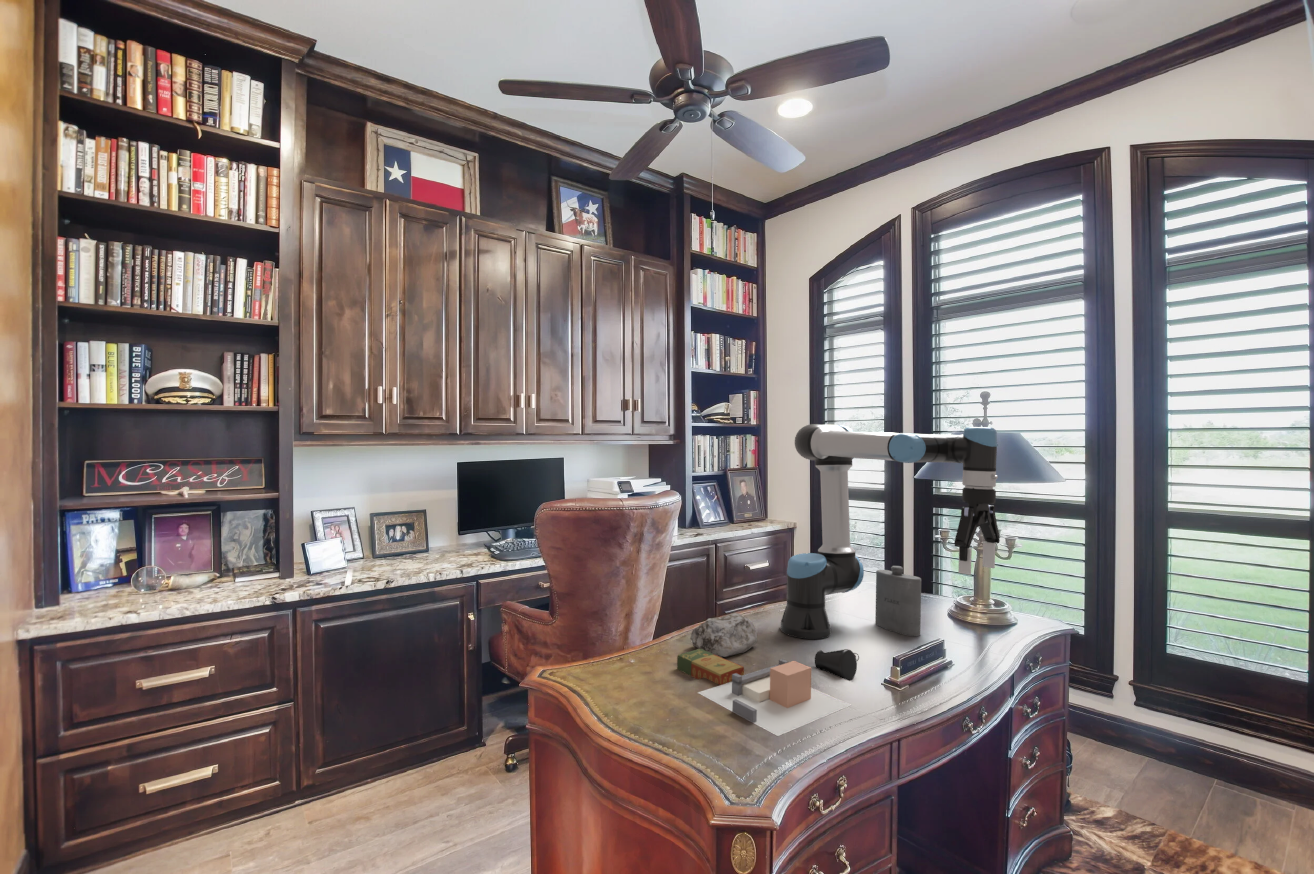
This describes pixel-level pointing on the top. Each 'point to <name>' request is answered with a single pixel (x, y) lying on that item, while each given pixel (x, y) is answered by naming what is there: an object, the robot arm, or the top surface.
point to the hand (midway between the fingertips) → (976, 570)
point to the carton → (708, 666)
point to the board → (770, 702)
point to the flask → (898, 601)
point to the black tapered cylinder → (837, 663)
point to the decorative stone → (725, 635)
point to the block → (790, 684)
